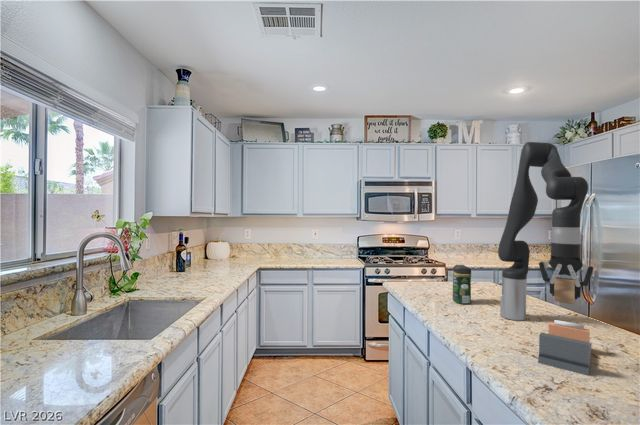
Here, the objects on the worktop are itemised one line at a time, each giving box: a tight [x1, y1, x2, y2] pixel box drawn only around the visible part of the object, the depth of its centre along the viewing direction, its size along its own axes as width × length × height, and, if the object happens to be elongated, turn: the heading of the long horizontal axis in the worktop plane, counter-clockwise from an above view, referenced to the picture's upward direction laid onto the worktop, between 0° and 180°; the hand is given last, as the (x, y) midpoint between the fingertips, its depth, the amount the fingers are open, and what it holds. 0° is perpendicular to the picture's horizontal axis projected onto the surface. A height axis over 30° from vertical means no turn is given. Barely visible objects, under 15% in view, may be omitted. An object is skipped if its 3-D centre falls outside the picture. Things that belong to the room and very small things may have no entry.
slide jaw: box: [547, 319, 591, 342], centre depth 115 cm, size 11×3×6 cm, turn 50°
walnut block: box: [553, 276, 576, 305], centre depth 105 cm, size 5×4×7 cm
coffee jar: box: [452, 264, 472, 305], centre depth 172 cm, size 10×8×19 cm
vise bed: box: [537, 332, 592, 376], centre depth 109 cm, size 12×24×8 cm, turn 140°
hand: (564, 296), depth 105 cm, fingers closed on walnut block, 5 cm apart
